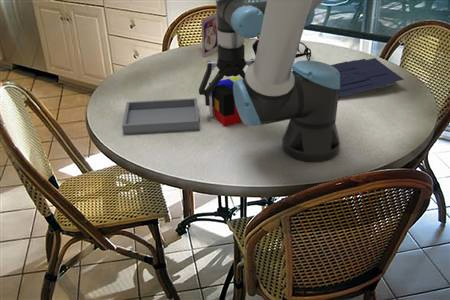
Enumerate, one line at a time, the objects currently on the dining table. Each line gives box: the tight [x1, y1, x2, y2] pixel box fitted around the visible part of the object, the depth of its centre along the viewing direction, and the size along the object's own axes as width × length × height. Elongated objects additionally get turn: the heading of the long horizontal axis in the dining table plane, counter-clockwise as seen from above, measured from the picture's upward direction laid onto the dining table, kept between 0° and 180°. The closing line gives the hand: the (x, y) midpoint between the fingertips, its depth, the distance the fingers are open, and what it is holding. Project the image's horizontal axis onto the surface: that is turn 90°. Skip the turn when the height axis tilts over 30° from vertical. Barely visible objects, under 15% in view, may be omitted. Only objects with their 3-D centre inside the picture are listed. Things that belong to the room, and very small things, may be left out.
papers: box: [330, 57, 405, 98], centre depth 166 cm, size 24×30×4 cm
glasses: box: [295, 41, 312, 61], centre depth 188 cm, size 17×18×5 cm
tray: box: [121, 97, 200, 136], centre depth 145 cm, size 16×22×3 cm
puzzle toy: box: [208, 76, 243, 128], centre depth 144 cm, size 10×10×10 cm
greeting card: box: [200, 12, 219, 58], centre depth 192 cm, size 11×7×15 cm, turn 149°
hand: (231, 113), depth 146 cm, fingers closed on puzzle toy, 12 cm apart
